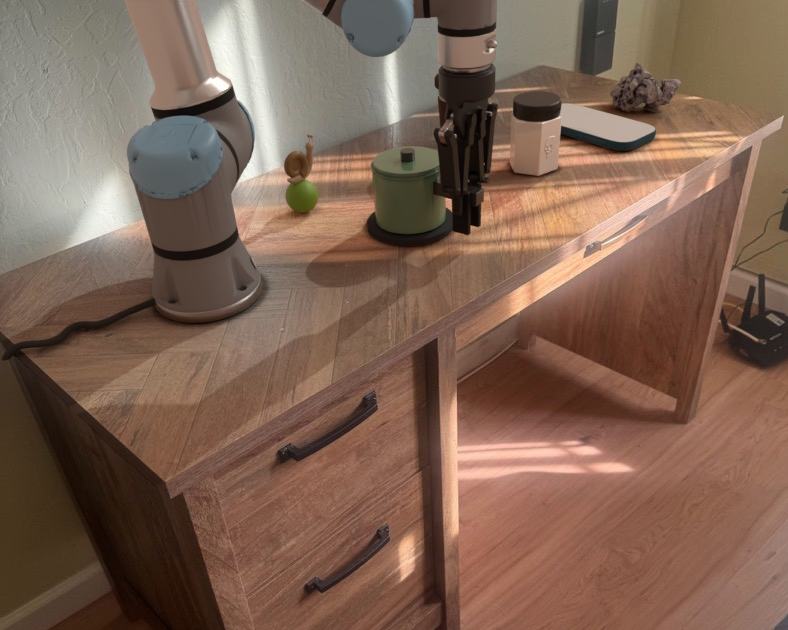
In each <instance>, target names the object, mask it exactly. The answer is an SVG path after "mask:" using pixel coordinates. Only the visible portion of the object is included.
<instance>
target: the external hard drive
mask: <svg viewBox="0 0 788 630" xmlns="http://www.w3.org/2000/svg"><path fill="white" fill-rule="evenodd" d="M560 115H561V117H562V120H561V133H560V135H563V136H566V137H570V138H573V139H576V140H580V141H583V142H586V143H588V144H589V143H590V144H592V145H596V146H599V147H602V148H606V149H608V150H614V151H621V152H622V151H623V152H625V151H631V150H635V149H637V148H639V147H641V146H643V145H646V144H647V143H650V142H652V141H653V140H654V139H655V138H656V135H657V128H656V127H655V126H654V125H652V124H649V123H648V122H643V121H640V120H635V119H632V118H628V117H626V116H625V117H624V116H621V115H617V114H613V113H610V112H606V111H602V110H599V109H595V108H591V107H588V106H583V105H581V104H580V105H579V104H576V103H569V102H563V103H562V102H561V111H560Z"/></svg>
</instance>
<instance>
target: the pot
mask: <svg viewBox="0 0 788 630" xmlns="http://www.w3.org/2000/svg"><path fill="white" fill-rule="evenodd" d="M369 166H370V167H369V168H370V172H371V179H372V190H373V204H374V211H375V218H376V223H377V225H378V226H379V227H380V228H382V229H384V230H386V231H389V232H392V233H398V234H417V233H423V232H427V231H430V230H433V229H435V228H437V227H439V226H440V225H441V224H442V223H443V222H444V221H445V219H446V208H447V204H446V203H447V201H446V200H447V199H448V200H452V195H451V194H449V193H445V192H442V187H441V177H440V167H439V157H438V150H436V149H433V148H430V147H425V146H417V145H415V146H414V145H408V146H406V145H405V146H399V147H393V148H389V149H387V150H384V151H381V152H380V153H378V154H377V155H376V156H375V157H374V158H373V159H372V161H371V162H370V164H369ZM467 191H468V192H471V205H473V206H478V205H479V204H481V205H482V203H484V201H485V199H484V198H485V189H484V188H482V187H481V188H479V187H475V186H471V185H468V187H467Z"/></svg>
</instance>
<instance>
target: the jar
mask: <svg viewBox="0 0 788 630" xmlns="http://www.w3.org/2000/svg"><path fill="white" fill-rule="evenodd" d="M561 104H562V97H561V96H560V95H559V94H557V93H555V92H552V91H545V90H544V91H543V90H542V91H541V90H534V91H533V90H532V91H526V92H522V93H519V94H517V95H515V96H514V98H513V100H512V111H511V113H510V138H509V164H510V167H511V169H512V171H513V173H515V174H522V175H529V176H533V177H534V176H536V177H539V176H542V175H546V174H548V173H550V172H554V171H557V170H558V168H559V158H560V157H559V156H560V143H561V134H560V133H561V120H562V117H561V115H560V111H561Z"/></svg>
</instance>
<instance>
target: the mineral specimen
mask: <svg viewBox="0 0 788 630" xmlns="http://www.w3.org/2000/svg"><path fill="white" fill-rule="evenodd" d="M660 83H661V84H660ZM681 84H682V81H681V80H680V79H677V78H673V79H672V78H669V79H661V80H660V81H658V80H656V79H655V78H654V77H653V73H651V72H649V70H648V69H647V68H646V67H644V68H643V67H642V64H641V63H640V62H639V61H636V63H635V65H634V67H633V69H631V70H630V71H629V74H628V75H627V76H626V75H622V76H621V77H620V79H619V82H618V83H617V84H616V85H615V86H614V87H613V89H612V90H611V91H610V94H609V95H610V96H611V98H612V101H611V102H612V104H613V105H614V106H615V108H618V109H621V110H622V111H625V112H627V113H628V112H631V111H634V109H635V107H638V106H640V105H641V104H645V105H644V106H643V107H642V108H643V109H644V110H645V111H647V110H649V111H651V112H654V113H657V112H658V111H659V109H660V107H661V106H666V105H667V104H670V103H671V101H672V99H673V98H674V97H675V96H676V91H677V90H678V88H679V87H680V86H681Z"/></svg>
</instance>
